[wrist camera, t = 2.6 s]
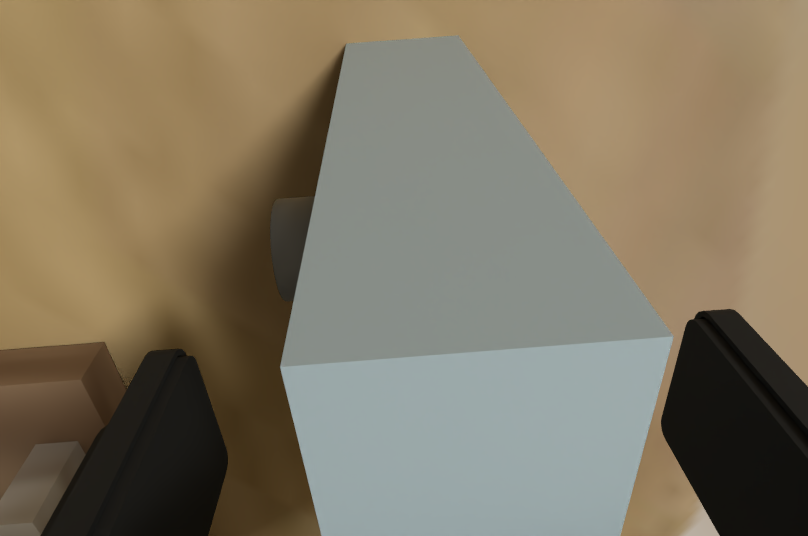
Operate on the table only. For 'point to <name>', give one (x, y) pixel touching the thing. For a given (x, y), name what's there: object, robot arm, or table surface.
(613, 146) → the table surface
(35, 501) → the cabinet base
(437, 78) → the door
